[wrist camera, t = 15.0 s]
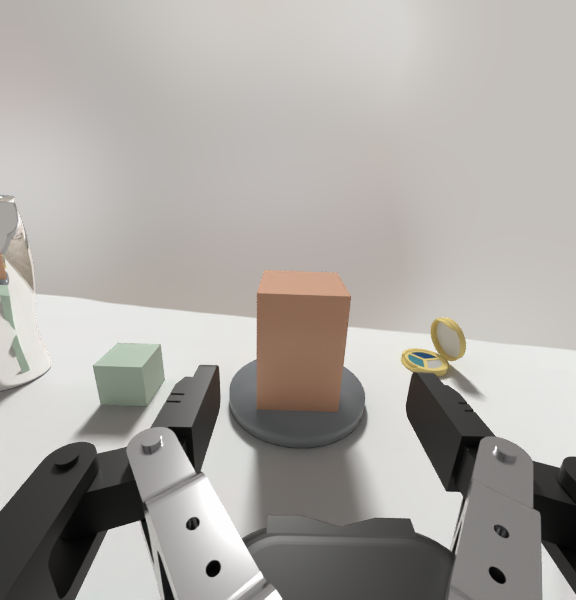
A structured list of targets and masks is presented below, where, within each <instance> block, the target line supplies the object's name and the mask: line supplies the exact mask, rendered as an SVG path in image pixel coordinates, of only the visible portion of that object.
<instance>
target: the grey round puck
mask: <svg viewBox="0 0 576 600" xmlns="http://www.w3.org/2000/svg"><path fill="white" fill-rule="evenodd" d="M364 403H365V393H364V389H363V387H362V385H361V383H360V381H359V380H358V378H357V377H356V376H355V375H354V374H353V373H352V372H350V371H349V370H348V369H346V368H345V367H343V373H342V382H341V391H340V400H339V409H338V412H320V411H290V410H261V409H257V360H254V361H252V362H250V363H248V364H247V365H245V366H244V367H243V368H241V369H240V370H239V371H238V372H237V373H236V374H235V376H234V378H233V379H232V382H231V384H230V407H231V411H232V414H233V416H234V418H235V419H236V421H237V422H238V423H239V424H240V425H241V426H242V427H243V428H244V429H245V430H246V431H247V432H249V433H250V434H252V435H253V436H255V437H257V438H259V439H261V440H263V441H266V442H269V443H272V444H275V445H279V446H285V447H293V448H311V447H319V446H323V445H327V444H331V443H333V442H336V441H338V440H340V439H342V438H344V437H346V436H347V435H348V434H350V433H351V432H352V431H353V430H354V429H355V428H356V427H357V426H358V424H359V422H360V421H361V418H362V416H363V410H364Z"/></svg>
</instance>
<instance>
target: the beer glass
mask: <svg viewBox="0 0 576 600" xmlns="http://www.w3.org/2000/svg"><path fill="white" fill-rule="evenodd" d="M51 365H52V359H51V356H50V354H49V352H48V351H47V349H46V347H45V345H44V343H43V341H42V339H41V337H40V334H39V331H38V326H37V321H36V296H35V274H34V263H33V258H32V253H31V248H30V245H29V241H28V238H27V234H26V231H25V228H24V225H23V222H22V219H21V216H20V214H19V211H18V208H17V205H16V202H15V198H14V196H9V195H0V391H3V390H7V389H11V388H14V387H18V386H20V385H23V384H26V383H28V382H30V381H32V380H34V379H36V378H38V377H40V376H41V375H43V374H44V373H45V372H46V371H47V370H48V369H49V368H50V367H51Z"/></svg>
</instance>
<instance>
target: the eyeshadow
mask: <svg viewBox="0 0 576 600" xmlns="http://www.w3.org/2000/svg"><path fill="white" fill-rule="evenodd" d="M431 338H432V341H433V344H434V346H435V348H436V350H437V351H438V353H439V354H440V355H439V354H437V353H435V352H432V351H429V350H424V349H408V350H405V351H404V352H403V353H402V357H401V362H402V364H403V365H404V366H405V367H406V368H407V369H409V370H411V371H413V372H430V373H434V374H435V375H436V376H437V377H438V376H443V375H445V374H446V373H447V371H448V367H449V363H448V361H455V360H457V359H459V358H461V357H462V356H463V355H464V353H465V350H466V341H465V337H464V334H463V332H462V330H461V329H460V327H459V326H458V324H457V323H456V322H455V321H453V320H452V319H450V318H438V319H436V320H434V321H433V323H432V326H431ZM447 360H448V361H447Z"/></svg>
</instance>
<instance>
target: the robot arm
mask: <svg viewBox="0 0 576 600" xmlns="http://www.w3.org/2000/svg"><path fill="white" fill-rule="evenodd" d="M219 409H220V377H219V367H218V365H199V367H198V369H197V371H196V372H195V374H194V376H193V377H184V378H183V379H182V380H181V381H179V382H178V383H177V384H176V385H175V386H174V388H173V390H172V392H171V394H170V395H169V397H168V398H167V400H166V402H165V404H164V405H163V407H162V409H161V411H160V412H159V414H158V416H157V417H156V419H155V421H154V423H153V424H152V426H151V428H150V429H147V430H144V431H142V432H140V433H139V434H137V435H136V436H135V437H133V438H132V439H131V441H130V442H129V444H128V446H127V447H124V448H121V449H117V450H112V451H108V452H103V453H98V454H97V451H96V448H95V446H94V445H93V444H91V443H87V442H76V443H72V444H68V445H66V446H63V447H61V448H59V449H57V450H55V451H54V452H52V453H51V454H49V455H48V456H47V457H46V458H45V459H44V460H43V461H42V462H41V463H40V465H39V466H38V467H37V468H36V469H35V471H34V472H33V473H32V474H31V475H30V477H29V478H28V479H27V480H26V481H25V483H24V484H23V485H22V486H21V487H20V489H19V490H18V491H17V492H16V493H15V495H14V496H13V497H12V498H11V499H10V501H9V502H8V503H7V504H6V505H5V507H4V508H3V509H2V510H1V511H0V600H75V598H76V596H77V594H78V592H79V590H80V588H81V586H82V584H83V581H84V579H85V577H86V575H87V573H88V571H89V569H90V567H91V564H92V562H93V560H94V558H95V556H96V554H97V552H98V550H99V548H100V545H101V543H102V541H103V539H104V537H105V535H106V533H107V531H108V530H109V529H112V528H115V527H119V526H122V525H126V524H129V523H132V522H136V521H139V523H140V526H141V529H142V533H143V536H144V539H145V543H146V546H147V549H148V553H149V556H150V559H151V563H152V566H153V569H154V573H155V577H156V580H157V585H158V589H159V593H160V597H161V600H542V561H541V543H542V544H543V546H544V547H545V549H546V550H547V552H548V553H549V555H550V556H551V558H552V559H553V561H554V562H555V564H556V565H557V567H558V568H559V570H560V571H561V573H562V574H563V576H564V577H565V579H566V580H567V582H568V583H569V585H570V586H571V588H572V589H573V591H574V592H575V594H576V457H567V458H565V459H564V460H563V463H562V465H561V467H560V468H558V467H554V466H550V465H546V464H542V463H539V462H535V461H532V459H531V457H530V456H529V455H528V454H527V453H526V452H525V451H524V450H523V449H522V448H520V447H519V446H518V445H516V444H514V443H512V442H510V441H508V440H506V439H503V438H499V437H496V436H495V435H494V434H493V433H492V431H491V430H490V429H489V428H488V427H487V426H486V424H485V423H484V422H483V421H482V420H481V418H480V417H479V416H478V415H477V414H476V413H475V412H474V411H473V409H472V408H471V407H470V405H469V404H467V402H466V401H465V400H464V398H463V397H462V396H461V395H460V394H459V393H458V392H457V391H455V390H454V389H452V388H451V387H449V386H448V385H444V384H443V383H442V382H441V381H440V379H439V378H438V377H437V376H436V375H435V374H434V373H430V372H414V373H413V374H412V377H411V381H410V386H409V392H408V397H407V402H406V413H407V417H408V419H409V421H410V423H411V425H412V427H413V429H414V431H415V433H416V435H417V437H418V438H419V440H420V442H421V444H422V446H423V448H424V450H425V452H426V454H427V456H428V457H429V459H430V461H431V463H432V465H433V467H434V469H435V471H436V473H437V475H438V476H439V478H440V480H441V482H442V484H443V486H444V488H445V490H446V491H449V492H461V494H462V496H463V499H462V502H461V506H460V510H459V514H458V518H457V522H456V527H455V531H454V535H453V539H452V543H451V547H450V550H448V549H447V548H446V547H444V546H443V545H441V544H439V543H438V542H436V541H434V540H432V539H430V538H428V537H426V536H424V535H421V534H419V533H415V531H414V528H413V525H412V523H411V520H410V519H405V518H372V519H369V520H365V521H361V522H357V523H353V524H349V525H346V526H336V525H333V524H329V523H326V522H322V521H319V520H315V519H312V518H308V517H305V516H287V515H268V517H267V528H264V529H261V530H258V531H255V532H253V533H251V534H249V535H247V536H245V537H244V538H242V539H241V537H240V535H239V534H238V532H237V530H236V528H235V527H234V525H233V523H232V521H231V520H230V518H229V516H228V514H227V513H226V511H225V509H224V507H223V506H222V504H221V502H220V500H219V499H218V497H217V495H216V493H215V492H214V490H213V488H212V486H211V485H210V483H209V481H208V479H207V478H206V476H205V475H204V473H203V472H200V471H201V468H202V464H203V461H204V458H205V455H206V452H207V448H208V445H209V442H210V439H211V436H212V432H213V429H214V426H215V423H216V420H217V416H218V413H219Z"/></svg>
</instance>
